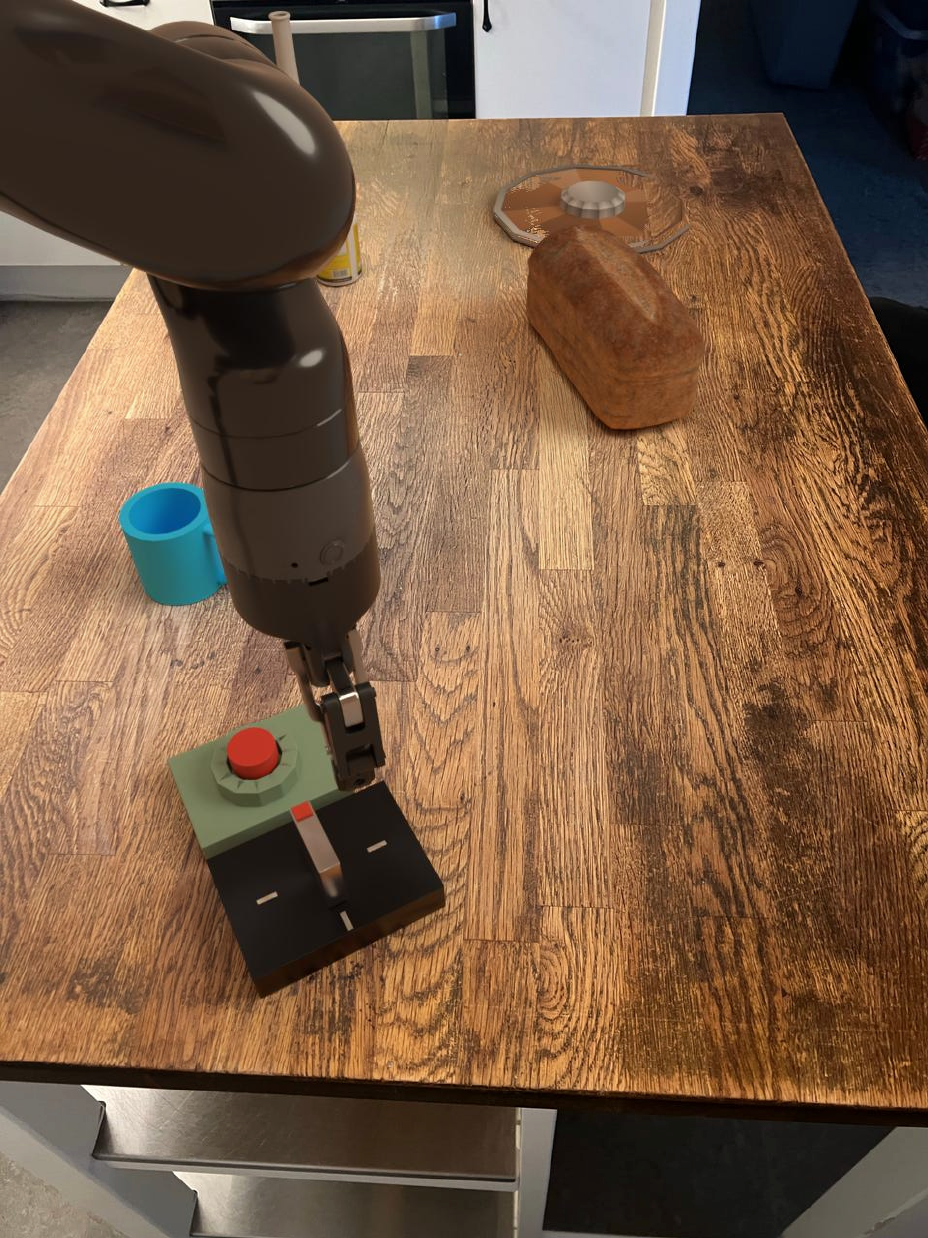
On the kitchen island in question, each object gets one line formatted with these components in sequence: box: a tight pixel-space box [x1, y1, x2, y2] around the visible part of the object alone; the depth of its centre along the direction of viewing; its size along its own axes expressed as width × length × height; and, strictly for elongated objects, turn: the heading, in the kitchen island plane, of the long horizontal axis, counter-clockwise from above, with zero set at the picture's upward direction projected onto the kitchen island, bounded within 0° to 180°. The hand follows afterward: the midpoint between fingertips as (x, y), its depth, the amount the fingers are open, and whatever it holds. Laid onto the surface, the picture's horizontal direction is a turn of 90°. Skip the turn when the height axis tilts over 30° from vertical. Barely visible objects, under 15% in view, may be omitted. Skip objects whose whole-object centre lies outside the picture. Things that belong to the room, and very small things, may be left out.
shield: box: [492, 163, 691, 255], centre depth 144 cm, size 30×3×30 cm
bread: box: [525, 224, 706, 430], centre depth 111 cm, size 12×31×14 cm, turn 17°
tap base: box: [205, 779, 447, 1000], centre depth 68 cm, size 14×10×3 cm
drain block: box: [166, 702, 355, 861], centre depth 75 cm, size 12×9×4 cm
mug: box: [118, 481, 228, 607], centre depth 89 cm, size 12×8×8 cm
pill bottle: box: [315, 211, 363, 287], centre depth 129 cm, size 6×6×12 cm
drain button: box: [227, 727, 279, 779], centre depth 73 cm, size 4×4×2 cm
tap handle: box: [289, 800, 348, 908], centre depth 65 cm, size 6×2×5 cm, turn 28°
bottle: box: [268, 10, 301, 86], centre depth 133 cm, size 7×7×28 cm
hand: (334, 726), depth 57 cm, fingers open, 8 cm apart
